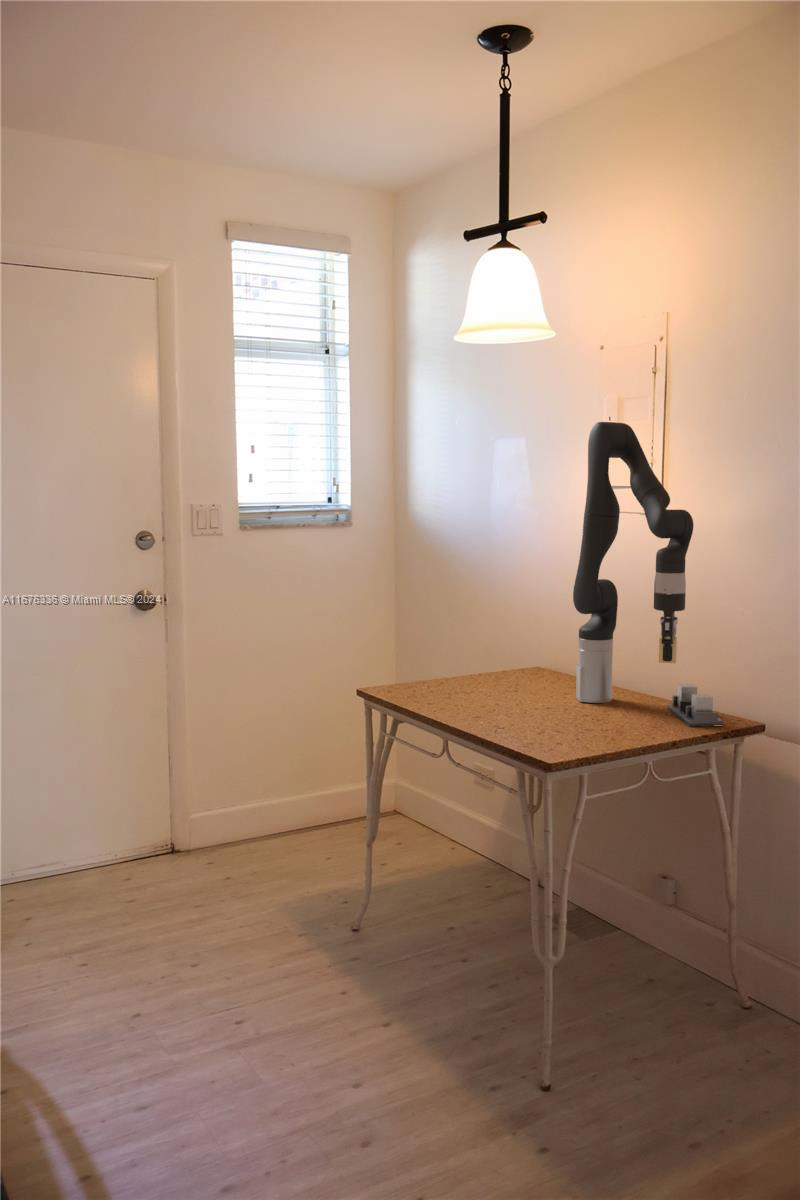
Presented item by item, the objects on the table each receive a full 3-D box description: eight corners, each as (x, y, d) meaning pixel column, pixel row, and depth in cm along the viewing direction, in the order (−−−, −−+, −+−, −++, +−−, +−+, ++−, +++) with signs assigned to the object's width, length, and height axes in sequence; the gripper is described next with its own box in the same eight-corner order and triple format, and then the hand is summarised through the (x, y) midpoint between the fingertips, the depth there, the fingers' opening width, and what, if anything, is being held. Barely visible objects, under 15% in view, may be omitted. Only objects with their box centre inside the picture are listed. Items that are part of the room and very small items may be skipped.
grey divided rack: (689, 726, 239) (690, 699, 238) (667, 708, 260) (668, 683, 259) (722, 726, 239) (723, 699, 238) (697, 708, 260) (698, 683, 259)
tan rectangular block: (658, 662, 244) (659, 638, 244) (659, 660, 248) (660, 636, 247) (675, 663, 243) (676, 639, 242) (676, 660, 247) (677, 637, 246)
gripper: (656, 587, 251) (654, 654, 253) (651, 593, 238) (649, 663, 240) (687, 588, 249) (685, 656, 251) (684, 593, 236) (682, 665, 237)
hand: (667, 659), depth 245 cm, fingers closed on tan rectangular block, 4 cm apart
